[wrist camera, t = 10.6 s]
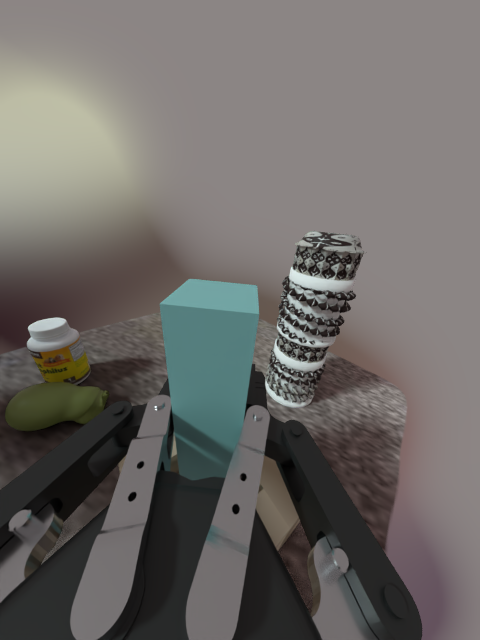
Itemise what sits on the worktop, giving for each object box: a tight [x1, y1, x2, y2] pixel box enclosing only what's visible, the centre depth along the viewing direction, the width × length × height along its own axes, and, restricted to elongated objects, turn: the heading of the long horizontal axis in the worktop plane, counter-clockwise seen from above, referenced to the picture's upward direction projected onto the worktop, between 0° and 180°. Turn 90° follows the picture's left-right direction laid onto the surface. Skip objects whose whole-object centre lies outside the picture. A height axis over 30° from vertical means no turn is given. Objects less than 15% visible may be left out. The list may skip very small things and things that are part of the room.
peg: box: [160, 279, 259, 480], centre depth 12 cm, size 4×4×16 cm
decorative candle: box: [265, 231, 366, 408], centre depth 28 cm, size 9×9×25 cm
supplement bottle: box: [27, 318, 91, 385], centre depth 29 cm, size 6×6×10 cm
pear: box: [5, 382, 109, 431], centre depth 25 cm, size 6×5×10 cm
